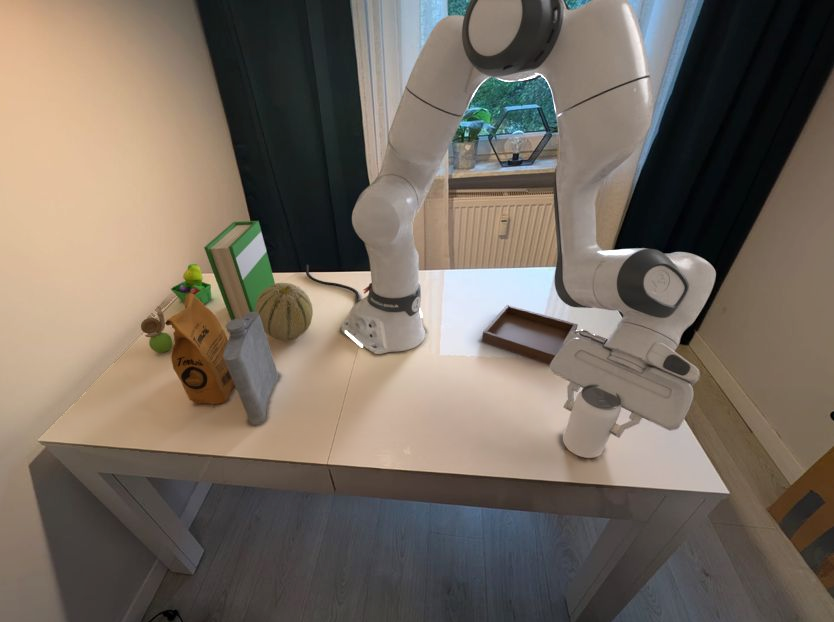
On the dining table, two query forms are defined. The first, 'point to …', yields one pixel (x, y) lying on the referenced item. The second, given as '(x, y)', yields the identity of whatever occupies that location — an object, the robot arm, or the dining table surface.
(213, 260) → the hardback book
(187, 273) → the fruit basket
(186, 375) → the coffee package
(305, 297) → the cantaloupe
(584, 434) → the can
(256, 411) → the hip flask
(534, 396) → the dining table surface
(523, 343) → the tray
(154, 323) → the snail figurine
